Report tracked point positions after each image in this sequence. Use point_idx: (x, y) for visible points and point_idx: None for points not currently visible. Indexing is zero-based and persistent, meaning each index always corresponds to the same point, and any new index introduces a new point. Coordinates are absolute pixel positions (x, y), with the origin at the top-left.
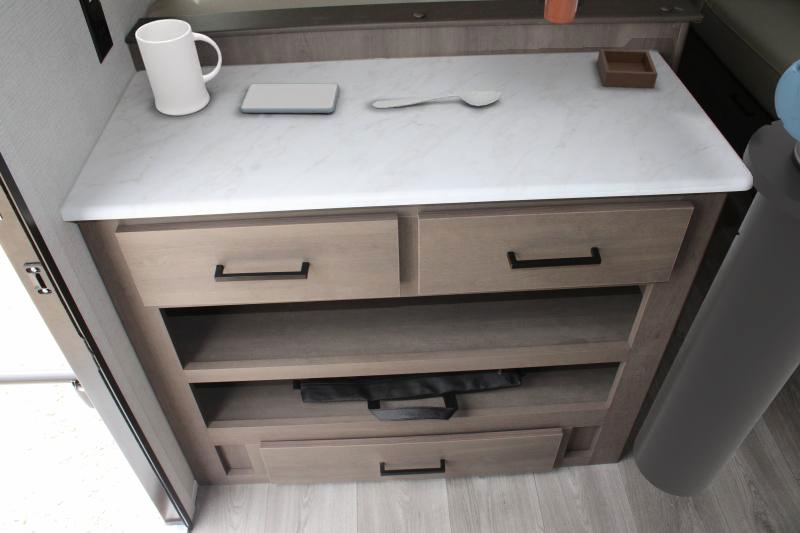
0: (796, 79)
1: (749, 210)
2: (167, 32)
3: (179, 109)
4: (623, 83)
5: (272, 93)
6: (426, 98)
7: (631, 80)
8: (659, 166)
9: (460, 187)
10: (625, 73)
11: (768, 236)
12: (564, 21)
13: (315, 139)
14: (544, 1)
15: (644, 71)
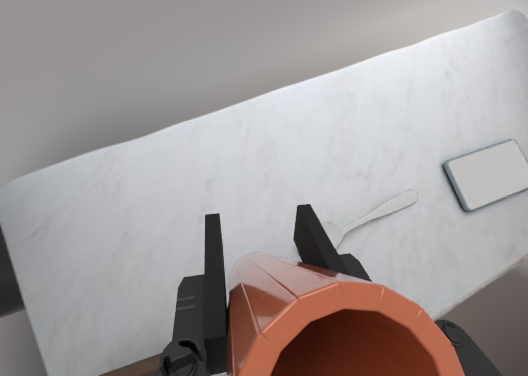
0: None
1: (14, 274)
2: None
3: None
4: (143, 361)
5: (509, 172)
6: (373, 214)
7: (130, 368)
8: (96, 177)
9: (287, 91)
10: (138, 369)
11: (1, 229)
12: (243, 256)
13: (430, 122)
14: (294, 234)
15: None
